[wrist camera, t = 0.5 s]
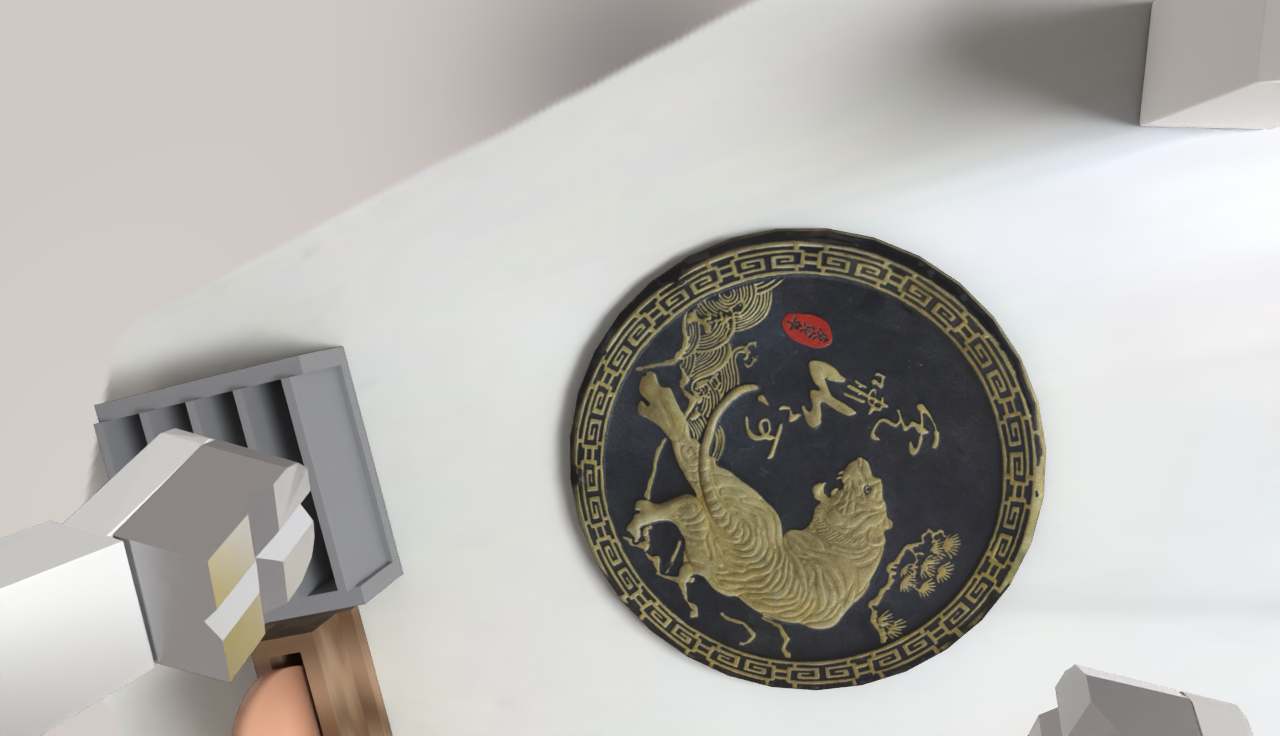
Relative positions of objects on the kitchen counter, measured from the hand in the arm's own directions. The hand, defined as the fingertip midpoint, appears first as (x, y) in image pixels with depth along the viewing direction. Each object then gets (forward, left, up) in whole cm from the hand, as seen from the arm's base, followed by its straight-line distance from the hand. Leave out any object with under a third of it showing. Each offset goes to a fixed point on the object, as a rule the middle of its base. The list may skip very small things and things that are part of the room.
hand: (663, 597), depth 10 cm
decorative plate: (-10, +1, -52) cm, 53 cm away
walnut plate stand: (-21, +37, -52) cm, 67 cm away
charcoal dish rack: (-4, +37, -52) cm, 64 cm away
